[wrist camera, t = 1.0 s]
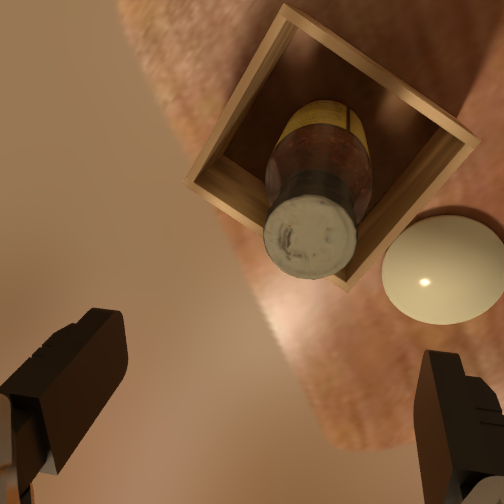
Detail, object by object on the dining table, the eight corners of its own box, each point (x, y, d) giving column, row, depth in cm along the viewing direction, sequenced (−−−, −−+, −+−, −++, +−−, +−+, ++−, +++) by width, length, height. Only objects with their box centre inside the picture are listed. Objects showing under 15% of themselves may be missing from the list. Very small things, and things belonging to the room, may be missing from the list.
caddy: (456, 118, 35) (481, 141, 28) (349, 247, 41) (347, 293, 34) (299, 8, 34) (283, 3, 27) (213, 156, 40) (182, 184, 33)
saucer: (521, 220, 37) (523, 222, 37) (492, 327, 41) (494, 331, 41) (389, 210, 39) (389, 212, 38) (375, 313, 43) (375, 317, 43)
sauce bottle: (271, 147, 39) (197, 244, 21) (317, 79, 36) (275, 127, 18) (336, 193, 39) (316, 325, 22) (386, 130, 36) (410, 224, 19)
